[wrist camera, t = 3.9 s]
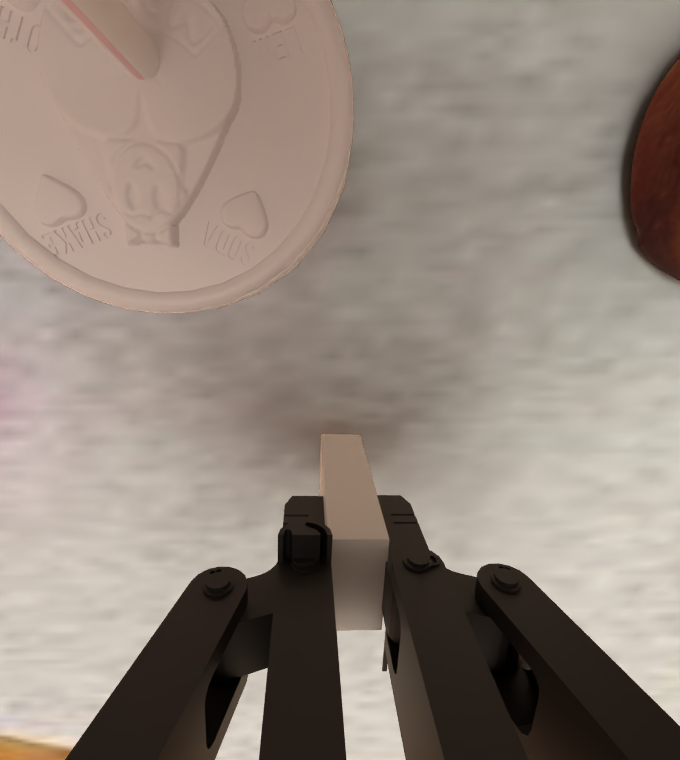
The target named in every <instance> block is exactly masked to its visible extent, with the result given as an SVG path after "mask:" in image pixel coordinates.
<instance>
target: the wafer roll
mask: <svg viewBox="0 0 680 760" xmlns="http://www.w3.org/2000/svg"><path fill="white" fill-rule="evenodd" d="M630 205H631V213H632V220H633V222H634V224H635V226H636V228H637V229H638V246H639V247H640V249H641V250H642V252H643V253H644V255H645V256H646V257H647V258H648V259H649V260H650V261H651V262H652V263H653V264H654V265H656V266H657V267H658V268H660V269H661V270H663V271H665V272H667V273H668V274H670V275H672V276H673V277H675V278H677V279H678V280H680V58H679V59H678V61H677V62H676V63H675V64H674V65H673V67H672V68H671V69H670V70H669V72H668V73H667V74H666V76H665V77H664V79H663V80H662V82H661V83H660V85H659V86H658V88H657V90H656V92H655V94H654V96H653V98H652V99H651V102H650V104H649V107H648V109H647V112H646V114H645V117H644V120H643V122H642V125H641V128H640V132H639V135H638V138H637V142H636V146H635V151H634V155H633V162H632V170H631V186H630Z"/></svg>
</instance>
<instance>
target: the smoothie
mask: <svg viewBox="0 0 680 760" xmlns="http://www.w3.org/2000/svg"><path fill="white" fill-rule="evenodd" d="M353 113H354V99H353V85H352V75H351V69H350V63H349V57H348V52H347V48H346V44H345V40H344V36H343V32H342V29H341V26H340V23H339V20H338V18H337V15H336V12H335V9H334V7H333V4H332V2H331V0H0V235H1V236H2V237H3V238H4V239H5V240H6V241H7V242H8V243H9V244H10V245H11V246H12V247H13V248H14V249H15V250H16V251H17V252H18V253H19V254H20V255H22V256H23V257H24V258H25V259H26V260H27V261H29V262H30V263H31V264H32V265H34V266H35V267H37V268H38V269H39V270H41V271H42V272H44V273H45V274H46V275H48V276H49V277H51V278H53V279H54V280H56V281H58V282H59V283H61V284H63V285H64V286H66V287H68V288H70V289H72V290H74V291H76V292H78V293H80V294H82V295H85V296H87V297H90V298H92V299H95V300H98V301H100V302H103V303H106V304H110V305H113V306H117V307H120V308H125V309H130V310H135V311H141V312H151V313H185V312H195V311H200V310H206V309H218V308H221V307H224V306H226V305H229V304H232V303H235V302H237V301H240V300H243V299H245V298H248V297H251V296H254V295H256V294H259V293H261V292H262V291H264V290H265V289H266V288H268V287H269V286H271V285H272V284H273V283H275V282H276V281H277V280H279V279H280V278H282V277H283V276H284V275H286V274H287V273H289V272H290V271H291V270H293V269H294V268H296V266H297V265H298V264H299V263H300V261H301V260H302V259H303V258H304V256H305V255H306V254H307V253H308V252H309V250H310V249H311V248H312V247H313V245H314V244H315V243H316V242H317V240H318V239H319V238H320V237H321V235H322V234H323V233H324V232H325V229H326V227H327V225H328V223H329V220H330V218H331V216H332V214H333V212H334V209H335V207H336V205H337V203H338V200H339V198H340V196H341V194H342V191H343V189H344V186H345V180H346V174H347V169H348V163H349V157H350V152H351V146H352V140H353Z"/></svg>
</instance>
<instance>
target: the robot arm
mask: <svg viewBox="0 0 680 760" xmlns="http://www.w3.org/2000/svg"><path fill="white" fill-rule="evenodd" d="M383 617H384V622H385V627H386V632H385V643H384V654H383V666H382V671H387V663H388V668H389V673H390V679H391V684H392V689H393V695H394V700H395V705H396V710H397V716H398V721H399V726H400V732H401V737H402V742H403V747H404V753H405V758H406V760H680V726H679V725H678V724H677V723H676V722H675V721H674V720H673V719H672V718H671V717H670V716H669V715H668V714H667V713H666V712H665V711H664V710H663V709H662V708H661V707H660V706H659V705H658V704H657V703H656V702H655V701H654V700H653V699H652V698H651V697H650V696H649V695H648V694H647V693H645V692H644V691H643V690H642V689H641V688H640V687H639V686H638V685H637V684H636V683H635V682H634V681H633V680H632V679H631V678H630V677H629V676H628V675H627V674H626V673H625V672H624V671H623V670H622V669H621V668H620V667H619V666H618V665H617V664H616V663H615V662H614V661H613V660H612V659H611V658H610V657H609V656H608V655H607V654H606V653H605V652H604V651H603V650H602V649H601V648H600V647H599V646H598V645H597V644H596V643H595V642H594V641H593V640H592V639H591V638H590V637H589V636H588V635H587V634H586V633H585V632H584V631H583V630H582V629H581V628H580V627H578V626H577V625H576V624H575V623H574V622H573V621H572V620H571V619H570V618H569V617H568V616H567V615H566V614H565V613H564V612H563V611H562V610H561V609H560V608H559V607H558V606H557V605H556V604H555V603H554V602H553V601H552V600H551V599H550V598H549V597H548V596H547V595H546V594H545V593H544V592H543V591H542V590H541V589H540V588H539V587H538V586H537V585H536V584H535V583H534V582H533V581H532V580H531V579H530V578H529V577H528V576H526V575H525V574H524V573H522V572H521V571H520V570H517V569H515V568H513V567H511V566H507V565H503V564H488V565H485V566H483V567H481V568H480V570H479V571H478V573H477V577H473V576H469V575H464V574H460V573H457V572H453V571H451V570H449V569H447V568H446V567H445V565H444V563H443V561H442V560H441V558H440V557H439V556H438V555H436V554H435V553H433V552H432V551H430V550H429V549H428V546H427V544H426V541H425V539H424V536H423V534H422V531H421V529H420V527H419V524H418V522H417V519H416V517H415V516H414V512H413V509H412V507H411V504H410V503H409V502H407V501H406V500H405V499H404V498H403V497H402V496H400V495H377V493H376V490H375V486H374V483H373V479H372V476H371V472H370V469H369V465H368V462H367V458H366V454H365V451H364V447H363V444H362V440H361V437H360V435H353V434H321V451H320V477H319V496H292V497H291V498H290V499H289V501H288V502H287V503H286V504H285V510H284V521H283V527H282V528H281V530H280V532H279V534H278V562H277V564H276V565H275V566H274V567H273V568H272V569H271V570H269V571H267V572H266V573H264V574H261V575H258V576H255V577H251V578H247V579H246V577H245V575H244V574H243V573H242V572H241V571H239V570H237V569H234V568H231V567H216V568H211V569H208V570H206V571H204V572H202V573H200V574H198V575H197V576H196V577H195V578H194V579H193V580H192V581H191V582H190V584H189V585H188V587H187V588H186V589H185V591H184V592H183V594H182V595H181V596H180V598H179V599H178V601H177V602H176V604H175V605H174V606H173V608H172V609H171V611H170V612H169V613H168V615H167V616H166V618H165V619H164V621H163V622H162V623H161V625H160V626H159V628H158V629H157V630H156V632H155V633H154V635H153V636H152V637H151V639H150V640H149V642H148V643H147V645H146V646H145V647H144V649H143V650H142V652H141V653H140V654H139V656H138V657H137V659H136V660H135V662H134V663H133V664H132V666H131V667H130V669H129V670H128V671H127V673H126V674H125V676H124V677H123V679H122V680H121V681H120V683H119V684H118V686H117V687H116V688H115V690H114V691H113V693H112V694H111V696H110V697H109V698H108V700H107V701H106V703H105V704H104V705H103V707H102V708H101V710H100V711H99V713H98V714H97V715H96V717H95V718H94V720H93V721H92V722H91V724H90V725H89V727H88V728H87V730H86V731H85V732H84V734H83V735H82V737H81V738H80V739H79V741H78V742H77V744H76V745H75V746H74V748H73V749H72V751H71V752H70V754H69V755H68V756H67V758H66V759H65V760H215V758H216V755H217V753H218V751H219V748H220V746H221V743H222V741H223V738H224V736H225V733H226V731H227V728H228V726H229V724H230V721H231V719H232V716H233V714H234V711H235V709H236V706H237V704H238V701H239V699H240V697H241V694H242V692H243V689H244V687H245V684H246V682H247V677H248V674H250V673H253V672H256V671H259V670H262V669H265V668H268V672H267V682H266V693H265V703H264V714H263V724H262V734H261V745H260V755H259V760H346V750H345V737H344V724H343V711H342V698H341V685H340V672H339V659H338V646H337V632H336V630H381V629H382V618H383Z"/></svg>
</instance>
